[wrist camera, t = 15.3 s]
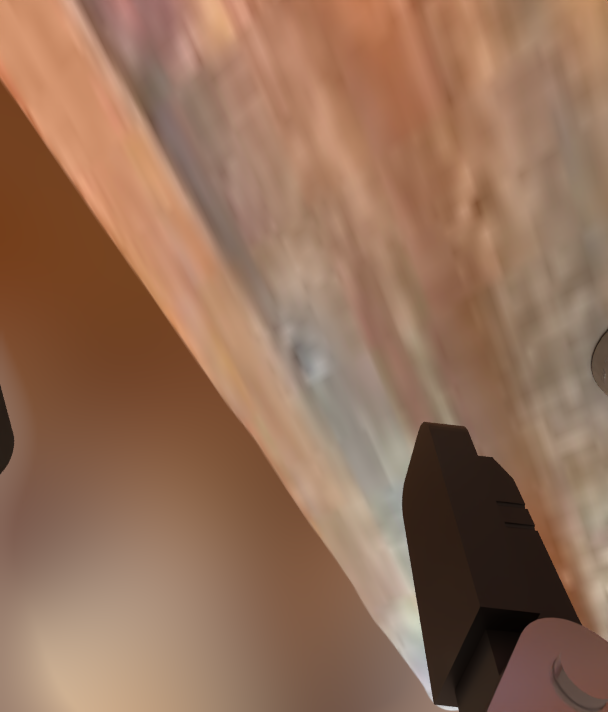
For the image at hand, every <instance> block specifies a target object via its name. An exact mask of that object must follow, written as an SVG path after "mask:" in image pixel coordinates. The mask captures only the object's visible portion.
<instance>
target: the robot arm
mask: <svg viewBox="0 0 608 712" xmlns="http://www.w3.org/2000/svg"><path fill="white" fill-rule="evenodd" d="M592 372H593V377H594V379H595V381H596V383H597V385H598V386H599V387H600V388H601V389H602V390H603V391H604V392H605V394H606V395H607V396H608V331H607V333H606V334H605V335H604V336H603V337H602V339H601V340H600V342H599V344H598V345H597V347H596V349H595V352H594V355H593V359H592ZM13 448H14V436H13V431H12V428H11V424H10V420H9V417H8V413H7V409H6V405H5V401H4V397H3V394H2V390H1V386H0V474H1V472H2V471H3V470H4V469H5V468H6V466H7V465H8V463H9V461H10V459H11V456H12V453H13ZM402 511H403V519H404V525H405V531H406V537H407V544H408V550H409V556H410V562H411V568H412V574H413V580H414V586H415V592H416V598H417V604H418V610H419V616H420V623H421V629H422V635H423V641H424V647H425V653H426V659H427V665H428V671H429V677H430V683H431V689H432V696H433V702H434V704H435V705H444V706H453V707H458V709H459V712H608V642H607V641H606V640H604V639H603V638H602V637H600V636H599V635H597V634H596V633H595V632H593V631H591V630H589V629H588V628H586V627H584V626H582V624H581V622H580V620H579V619H578V617H577V615H576V612H575V610H574V608H573V606H572V604H571V602H570V599H569V597H568V595H567V593H566V591H565V589H564V587H563V584H562V582H561V580H560V578H559V576H558V574H557V572H556V569H555V567H554V565H553V563H552V561H551V559H550V557H549V554H548V552H547V550H546V548H545V546H544V544H543V542H542V539H541V537H540V535H539V533H538V531H535V528H534V527H535V524H534V522H533V520H532V518H531V516H530V514H529V512H528V509H525V503H524V501H523V499H522V497H521V494H520V492H519V490H518V488H517V486H516V484H515V482H514V479H513V478H512V477H511V476H510V475H509V474H508V473H507V472H506V471H505V470H504V469H503V468H502V467H501V466H500V465H499V464H498V463H497V462H496V461H495V460H494V459H493V457H485V456H478V455H477V452H476V450H475V447H474V445H473V442H472V440H471V437H470V435H469V432H468V430H467V429H466V427H464V426H456V425H447V424H438V423H430V422H423V423H422V425H421V426H420V429H419V432H418V435H417V439H416V442H415V446H414V449H413V453H412V457H411V460H410V464H409V467H408V471H407V474H406V478H405V482H404V487H403V496H402Z"/></svg>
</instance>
